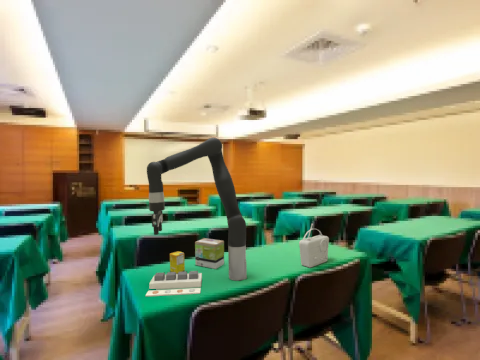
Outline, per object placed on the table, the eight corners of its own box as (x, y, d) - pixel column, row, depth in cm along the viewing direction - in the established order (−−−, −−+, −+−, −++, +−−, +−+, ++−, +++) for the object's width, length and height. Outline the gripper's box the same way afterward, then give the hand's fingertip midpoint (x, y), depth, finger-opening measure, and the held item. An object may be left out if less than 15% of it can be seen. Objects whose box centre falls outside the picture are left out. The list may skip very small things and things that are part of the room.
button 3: (176, 277, 140) (175, 271, 139) (174, 280, 135) (174, 274, 135) (167, 278, 139) (167, 272, 139) (166, 281, 135) (166, 275, 135)
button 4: (164, 278, 139) (164, 272, 139) (163, 281, 135) (163, 275, 135) (156, 278, 139) (156, 272, 139) (154, 281, 134) (154, 275, 134)
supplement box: (178, 269, 158) (177, 250, 158) (185, 271, 154) (184, 252, 154) (169, 272, 153) (169, 253, 153) (176, 275, 150) (176, 255, 149)
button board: (202, 278, 144) (201, 272, 144) (200, 287, 133) (200, 281, 133) (154, 280, 142) (154, 275, 142) (149, 289, 131) (149, 283, 131)
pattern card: (200, 288, 131) (200, 287, 131) (200, 293, 126) (200, 292, 126) (148, 291, 129) (148, 290, 129) (145, 296, 124) (145, 295, 124)
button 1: (198, 276, 141) (198, 270, 140) (197, 279, 136) (197, 273, 136) (189, 277, 140) (189, 271, 140) (189, 280, 136) (188, 274, 136)
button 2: (187, 277, 140) (187, 271, 140) (186, 280, 136) (186, 274, 136) (178, 277, 140) (178, 271, 140) (177, 280, 135) (177, 274, 135)
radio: (310, 269, 154) (309, 225, 154) (298, 266, 161) (298, 223, 160) (331, 261, 168) (331, 221, 167) (320, 258, 175) (319, 219, 174)
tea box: (194, 265, 164) (194, 241, 164) (204, 260, 173) (204, 237, 173) (215, 269, 157) (215, 244, 157) (224, 264, 166) (224, 240, 166)
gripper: (161, 202, 132) (162, 235, 133) (166, 199, 146) (168, 229, 147) (145, 203, 131) (147, 236, 132) (152, 200, 146) (153, 230, 146)
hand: (158, 232), depth 139 cm, fingers open, 8 cm apart
